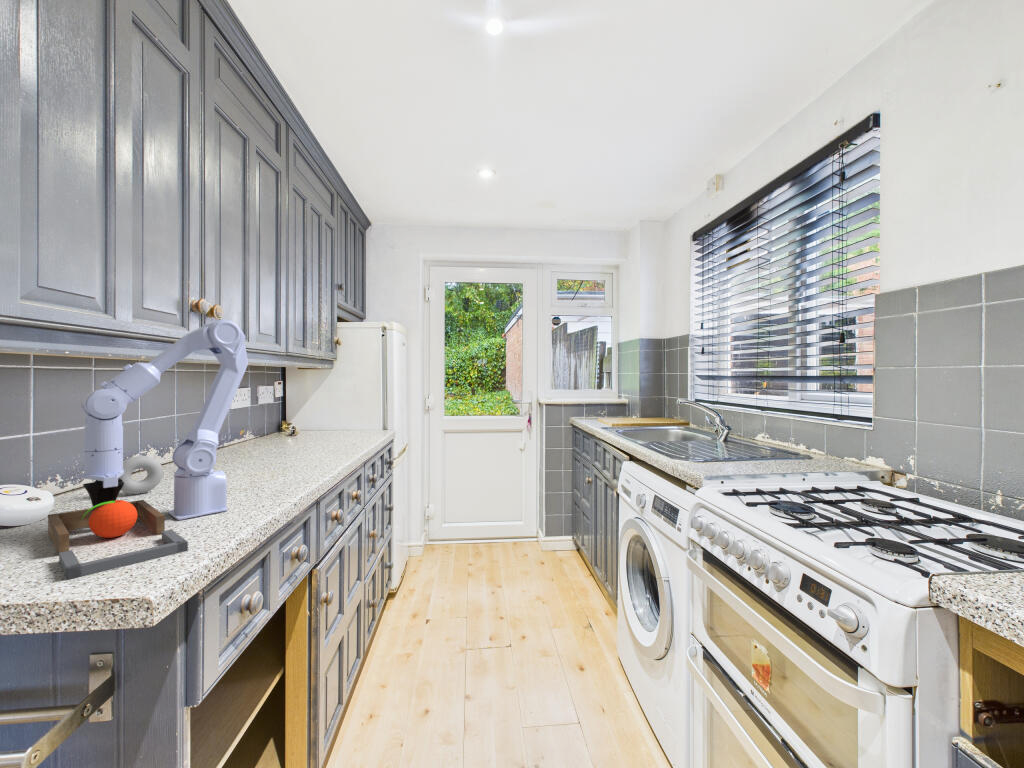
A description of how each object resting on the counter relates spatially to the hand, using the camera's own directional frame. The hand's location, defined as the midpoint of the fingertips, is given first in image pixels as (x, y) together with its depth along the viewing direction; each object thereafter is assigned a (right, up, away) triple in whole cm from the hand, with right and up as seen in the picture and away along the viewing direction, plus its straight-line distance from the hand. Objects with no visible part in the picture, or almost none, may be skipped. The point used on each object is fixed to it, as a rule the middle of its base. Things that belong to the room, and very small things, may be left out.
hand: (103, 517), depth 87 cm
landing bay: (+16, -3, -13) cm, 20 cm away
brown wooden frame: (+3, -2, -2) cm, 4 cm away
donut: (-16, -2, +27) cm, 32 cm away
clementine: (+5, -3, -4) cm, 7 cm away
